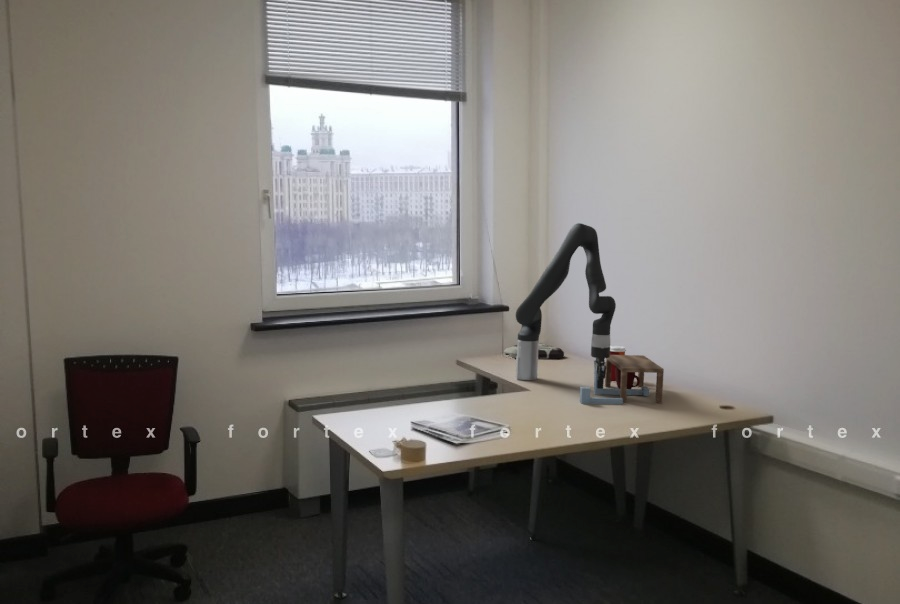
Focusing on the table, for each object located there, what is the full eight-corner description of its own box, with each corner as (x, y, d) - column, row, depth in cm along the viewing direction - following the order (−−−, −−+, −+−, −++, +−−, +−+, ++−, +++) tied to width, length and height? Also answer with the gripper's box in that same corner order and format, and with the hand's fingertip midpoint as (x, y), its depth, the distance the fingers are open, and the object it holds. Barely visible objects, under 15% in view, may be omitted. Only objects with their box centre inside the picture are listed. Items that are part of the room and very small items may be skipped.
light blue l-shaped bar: (595, 394, 316) (596, 370, 315) (593, 392, 321) (594, 368, 320) (649, 396, 316) (650, 371, 315) (645, 393, 321) (647, 369, 320)
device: (526, 349, 426) (526, 340, 426) (573, 354, 413) (573, 345, 412) (499, 358, 398) (499, 348, 397) (549, 364, 384) (549, 354, 384)
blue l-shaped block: (581, 403, 300) (581, 388, 300) (579, 401, 303) (580, 386, 303) (622, 404, 300) (623, 389, 300) (621, 402, 304) (621, 387, 303)
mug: (642, 392, 324) (644, 368, 322) (636, 395, 317) (637, 371, 316) (618, 388, 329) (619, 365, 328) (611, 391, 322) (612, 368, 321)
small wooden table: (620, 402, 304) (622, 368, 303) (604, 385, 334) (606, 354, 332) (661, 403, 304) (663, 369, 303) (642, 386, 334) (643, 355, 333)
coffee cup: (626, 382, 342) (627, 348, 340) (607, 382, 342) (608, 348, 340) (622, 378, 350) (624, 345, 348) (603, 378, 350) (605, 345, 348)
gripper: (588, 342, 324) (586, 383, 325) (594, 347, 309) (593, 390, 311) (606, 343, 324) (604, 384, 325) (613, 348, 310) (611, 391, 311)
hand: (599, 387), depth 318 cm, fingers closed on light blue l-shaped bar, 3 cm apart
